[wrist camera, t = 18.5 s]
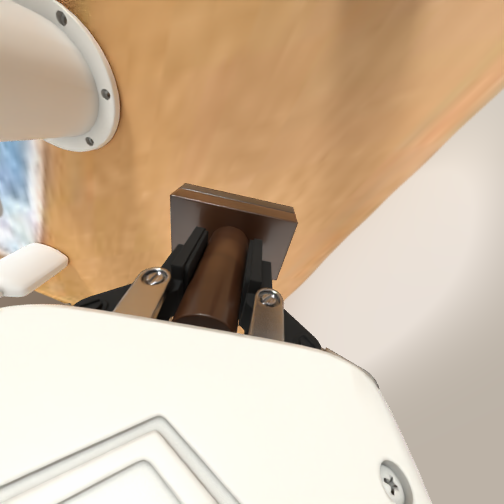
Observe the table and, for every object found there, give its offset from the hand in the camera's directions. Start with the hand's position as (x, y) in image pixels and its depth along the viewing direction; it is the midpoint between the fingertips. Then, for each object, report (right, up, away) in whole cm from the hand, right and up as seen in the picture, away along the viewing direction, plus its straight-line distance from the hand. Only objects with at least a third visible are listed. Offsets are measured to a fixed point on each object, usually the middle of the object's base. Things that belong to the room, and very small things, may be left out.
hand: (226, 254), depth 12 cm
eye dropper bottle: (-32, 0, +21) cm, 38 cm away
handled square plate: (0, +2, +3) cm, 4 cm away
